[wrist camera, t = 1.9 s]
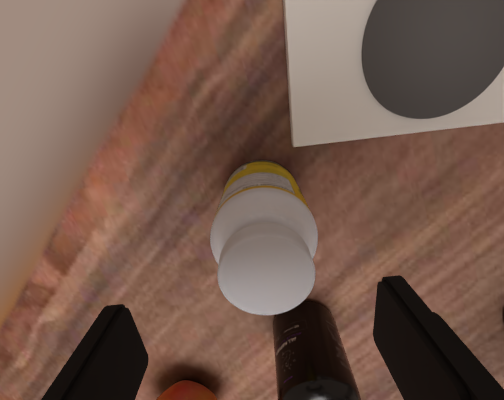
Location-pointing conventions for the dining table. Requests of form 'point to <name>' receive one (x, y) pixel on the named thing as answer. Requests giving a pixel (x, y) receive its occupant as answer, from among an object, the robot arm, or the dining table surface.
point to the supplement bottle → (311, 356)
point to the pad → (432, 53)
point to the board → (352, 80)
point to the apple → (187, 392)
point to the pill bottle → (264, 240)
